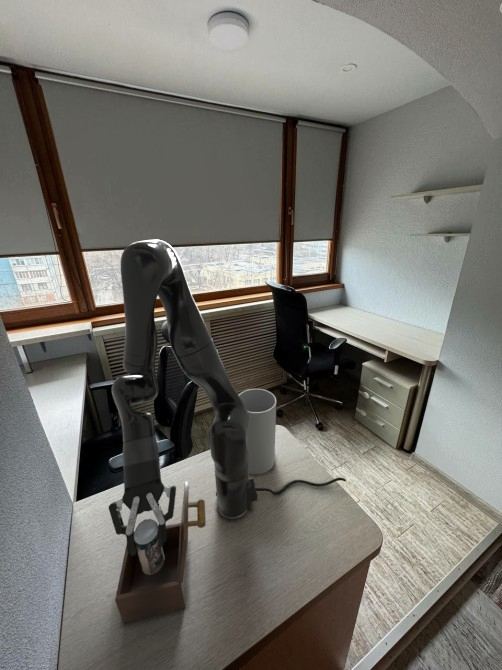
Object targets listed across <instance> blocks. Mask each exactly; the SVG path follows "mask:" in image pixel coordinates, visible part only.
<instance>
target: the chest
mask: <svg viewBox="0 0 502 670" xmlns="http://www.w3.org/2000/svg"><path fill="white" fill-rule="evenodd" d="M166 534H167V538H166V542H164V546H162V549H163V554H164V563H163V566H162V567H161V569H160V570H159V571H158V572H156V573H155V574H152V575H147V574H145V573H144V572H143V571H142V567H141V563H140V559H139V555H138V552H137V548H136V555H135V556H132V557H131V553H130V554H128V552H127V544H125V545H126V546H125V550H124V555H123V559H122V564H121V569H120V575H119V579H118V584H117V588H116V594H115V599H114V601H115V604H116V606H117V610H118V612H119V615H120V618H121V620H122V623H123V624H126V623H131V622H134V621H135V622H136V621H138V620H143V619H146V618H149V617H153V616H157V615H161V614H164V613H165V614H166V613H169V612H172V611H176V610H180V609H184V608H186V599H187V598H186V597H187V596H186V590H187V589H186V587H187V559H186V560H185V568H184V576H183V582H182V583H179V562H180V535H181V522H179V523H178V522H177V523H173V524H168V525H166Z"/></svg>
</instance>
